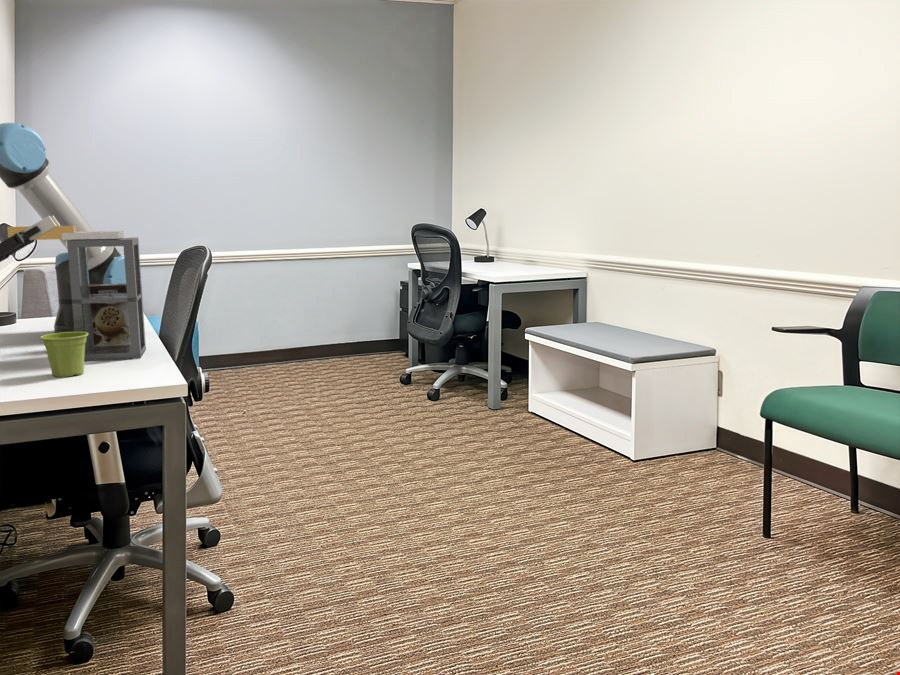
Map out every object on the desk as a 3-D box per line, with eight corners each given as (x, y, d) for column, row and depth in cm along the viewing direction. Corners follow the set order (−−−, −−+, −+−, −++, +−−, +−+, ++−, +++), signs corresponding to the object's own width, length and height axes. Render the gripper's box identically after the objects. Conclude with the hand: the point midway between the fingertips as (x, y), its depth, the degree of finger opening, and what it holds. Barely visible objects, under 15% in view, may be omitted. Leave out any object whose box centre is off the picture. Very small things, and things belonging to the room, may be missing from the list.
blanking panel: (16, 239, 197) (15, 226, 197) (123, 237, 203) (123, 224, 202) (4, 240, 188) (3, 227, 187) (118, 238, 193) (117, 225, 193)
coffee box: (93, 349, 210) (88, 286, 208) (93, 346, 216) (88, 283, 213) (131, 347, 213) (127, 284, 211) (131, 343, 219) (126, 282, 217)
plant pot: (38, 380, 174) (34, 339, 172) (50, 371, 183) (47, 332, 182) (86, 377, 176) (82, 337, 174) (95, 369, 185) (92, 330, 183)
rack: (84, 352, 206) (75, 238, 201) (146, 349, 209) (138, 237, 205) (75, 361, 194) (65, 240, 190) (140, 358, 198) (132, 239, 193)
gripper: (-17, 284, 200) (71, 233, 203) (-38, 290, 184) (57, 235, 187) (-37, 257, 198) (52, 206, 201) (-60, 261, 182) (36, 206, 185)
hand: (54, 220), depth 194 cm, fingers closed on blanking panel, 4 cm apart
